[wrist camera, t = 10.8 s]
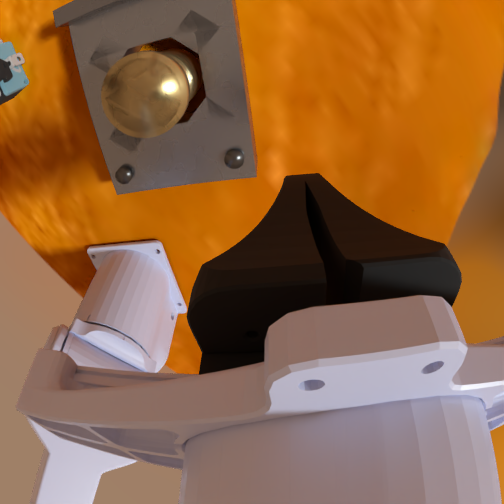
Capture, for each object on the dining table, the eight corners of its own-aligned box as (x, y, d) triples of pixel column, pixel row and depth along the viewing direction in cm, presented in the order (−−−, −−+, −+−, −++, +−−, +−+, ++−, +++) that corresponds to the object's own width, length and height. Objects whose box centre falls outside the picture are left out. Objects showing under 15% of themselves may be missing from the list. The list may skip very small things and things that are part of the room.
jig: (257, 161, 22) (256, 188, 19) (129, 178, 23) (109, 206, 20) (230, -32, 13) (222, -46, 10) (85, 9, 14) (52, 11, 11)
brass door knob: (214, 100, 19) (197, 126, 14) (151, 115, 20) (116, 147, 15) (199, 36, 16) (175, 39, 11) (133, 55, 17) (90, 70, 12)
